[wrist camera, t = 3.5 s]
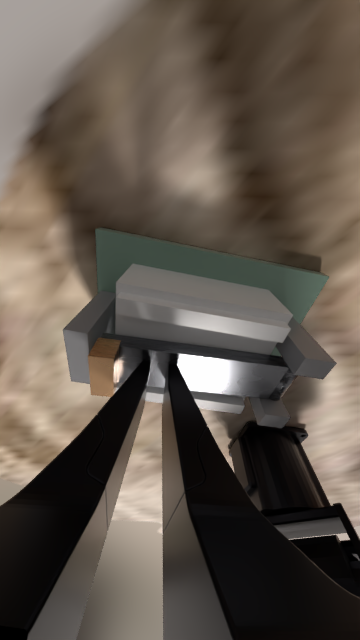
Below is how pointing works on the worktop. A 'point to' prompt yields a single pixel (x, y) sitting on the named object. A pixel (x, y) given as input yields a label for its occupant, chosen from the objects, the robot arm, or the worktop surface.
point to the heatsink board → (199, 310)
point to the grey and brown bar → (187, 367)
